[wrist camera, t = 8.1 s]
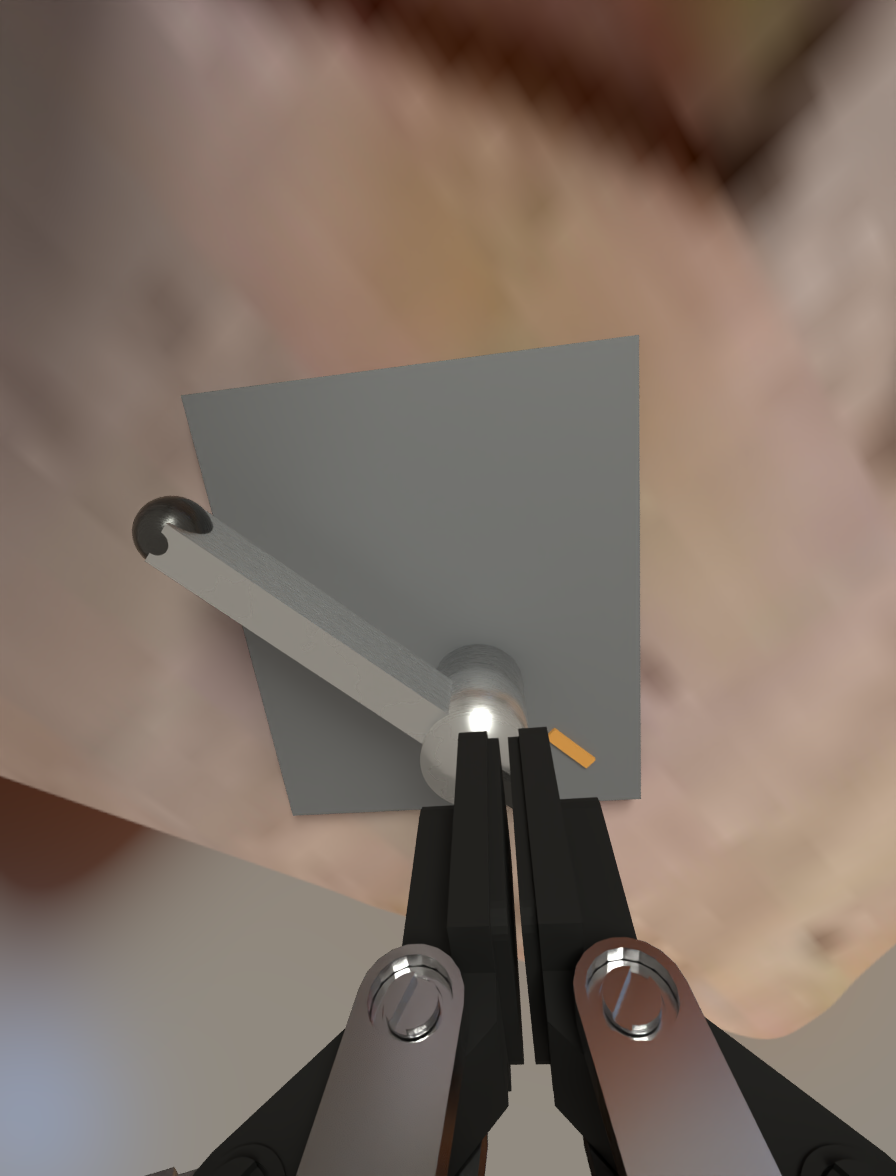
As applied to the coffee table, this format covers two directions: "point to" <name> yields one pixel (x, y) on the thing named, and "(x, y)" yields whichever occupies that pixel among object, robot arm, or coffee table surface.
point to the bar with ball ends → (339, 640)
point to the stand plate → (447, 549)
